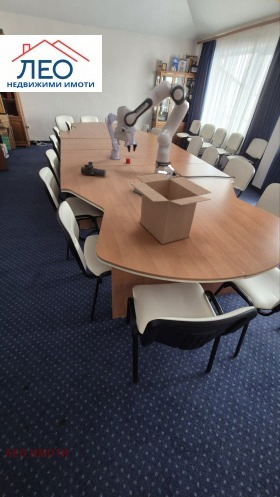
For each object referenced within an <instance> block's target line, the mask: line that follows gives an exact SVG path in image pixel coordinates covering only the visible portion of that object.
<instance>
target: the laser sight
mask: <svg viewBox="0 0 280 497" xmlns="http://www.w3.org/2000/svg"><path fill="white" fill-rule="evenodd" d="M87 162H88V163H87V164H86V163H85V164H84V166H81V168H80V174H82V175H86V176H92V177H106V174H107V171H106V169H100V168H97V167H94V164H93V161H87Z"/></svg>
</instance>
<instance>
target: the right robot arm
mask: <svg viewBox="0 0 280 497" xmlns="http://www.w3.org/2000/svg"><path fill="white" fill-rule="evenodd" d="M167 98H171V100H172V102H173V103H174V106H173V108H172V110H171V112H170V114H169V116H168V117H167V119H166V120H165V123H164V124H163V126H162V128H161V129H160V132H159V133H158V135H157V138H156V141H157V143H158V147H157V150H156V159H155V165H154V171H153V174H160V173H161V174H163V175H164V176H166V177H167V178H168V179H172V178H177V175H178V176H179V177H184V178H225V179H231V178H233V179H236V176H221V175H192V176H191V175H188V176H186V175H181V173H178V171H177V170H175V169H174V168H173V167H172V166H171V165H172V164H173V162H172V161H169V158H170V152H171V147H172V142H173V137H174V136H175V134H176V132H177V130H178V129H179V127H180V125H181V123H182V122H183V120H184V118H185V116H186V114H187V112H188V110H189V107H190V104H189V102H188V100H186V89H185V87H184V85H182V84H181V83H173V84H172V83H170V82H169V81H168V80H166V79H164V80H163V81H161V82H159V83H158V84H157V85H155V86H154V87H153V88H152V89H151V90H150V91H149V93H148V94H147V96H146V97H145V98H144V99H143V101H142V102H141V103H140V104H139V105H138V106H137V107H136V108H134V109H133V110H131V109H130V108H129V107H128V106H126V105H122V106H119V107H118V108H117V110H116V116H117V121H116V127H115V128H114V129H113V131H114V138H115V139H116V141H117V143H118V145H119V146H121V142H124V144H123V147H124V148H127V143H129V142H130V141H131V133H130V132H131V129H130V128H129V127H134V126H135V125H136V124H137V123H138V122H139V119H140V117H142V116H143V115H144V114H145V113H146V112H147V111H149V110H151V109H153V108H155V107H157V106H159V105H160V104H162V102H163V101H165V100H166V99H167ZM120 141H121V142H120Z"/></svg>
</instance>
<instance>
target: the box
mask: <svg viewBox="0 0 280 497" xmlns="http://www.w3.org/2000/svg"><path fill="white" fill-rule="evenodd" d="M135 177H136V178H137V179H138V180H139V181H141V182H139V181H137V182H136V181H129V182H128V183H129V184H130V185H131V186H132V187H133V188H134V187H135V188H136V189H138V190H139V191H140V192H141V193H142V195H141V207H140V224H141V225H142V226H143V227H144V228H145V229H146V230H147V231H148V232H149V233H150V235H152V236H153V237H154V238H155V239H156V240H157V241H158V242H159V243H160V244H161V245H164V244H169V243H173V242H175V241H179V240H184V239H187V238H189V237H190V233H191V229H192V224H193V221H194V217H195V212H196V208H197V204H198V203H200V202H206V201H211V200H212V199H211V198H208V197H203V196H204V195H208V194H212V192H211V191H210V190H208V189H206V188H204V187H203V186H202V185H199V184H197V183H195V182H194V181H191V180H189V179H188V178H187V177H181V176H177V177H174V178H169V179H168V178H167V177H166V176H164V175H163V174H161V173H160V174H154V173H152V174H145V175H136V176H135Z"/></svg>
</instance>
